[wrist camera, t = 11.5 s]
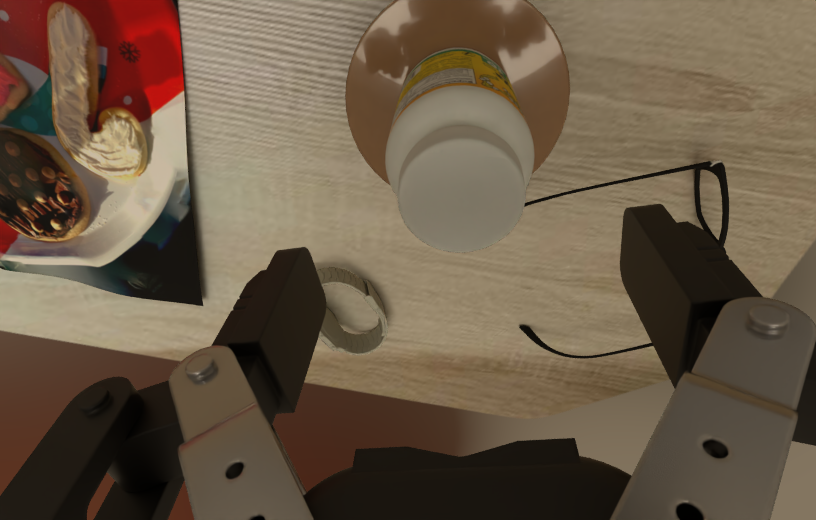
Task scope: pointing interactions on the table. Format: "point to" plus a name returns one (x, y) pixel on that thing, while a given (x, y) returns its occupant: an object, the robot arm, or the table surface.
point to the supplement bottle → (459, 152)
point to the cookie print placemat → (96, 147)
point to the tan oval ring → (331, 328)
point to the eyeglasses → (720, 172)
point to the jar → (456, 28)
